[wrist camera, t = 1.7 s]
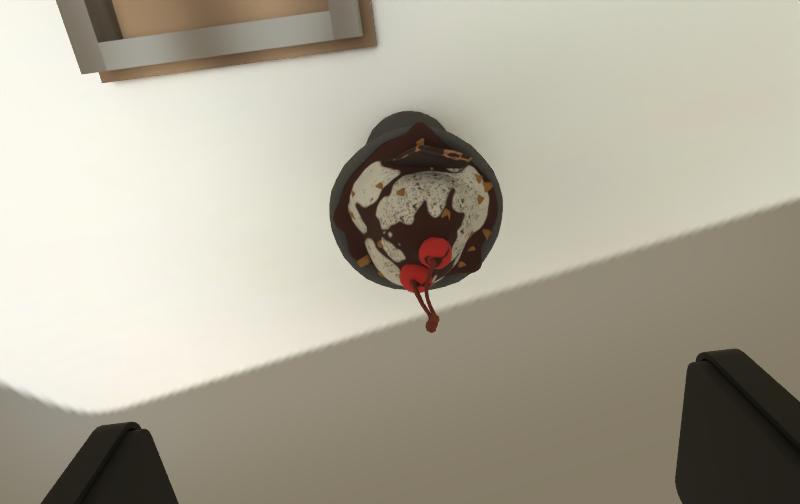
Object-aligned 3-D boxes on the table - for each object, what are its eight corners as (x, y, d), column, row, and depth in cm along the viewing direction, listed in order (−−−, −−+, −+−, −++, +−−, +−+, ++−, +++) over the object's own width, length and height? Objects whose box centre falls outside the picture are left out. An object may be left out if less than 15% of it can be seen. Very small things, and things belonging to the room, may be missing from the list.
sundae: (406, 234, 31) (417, 398, 17) (325, 152, 29) (265, 265, 15) (492, 160, 29) (580, 277, 16) (412, 68, 27) (433, 108, 14)
